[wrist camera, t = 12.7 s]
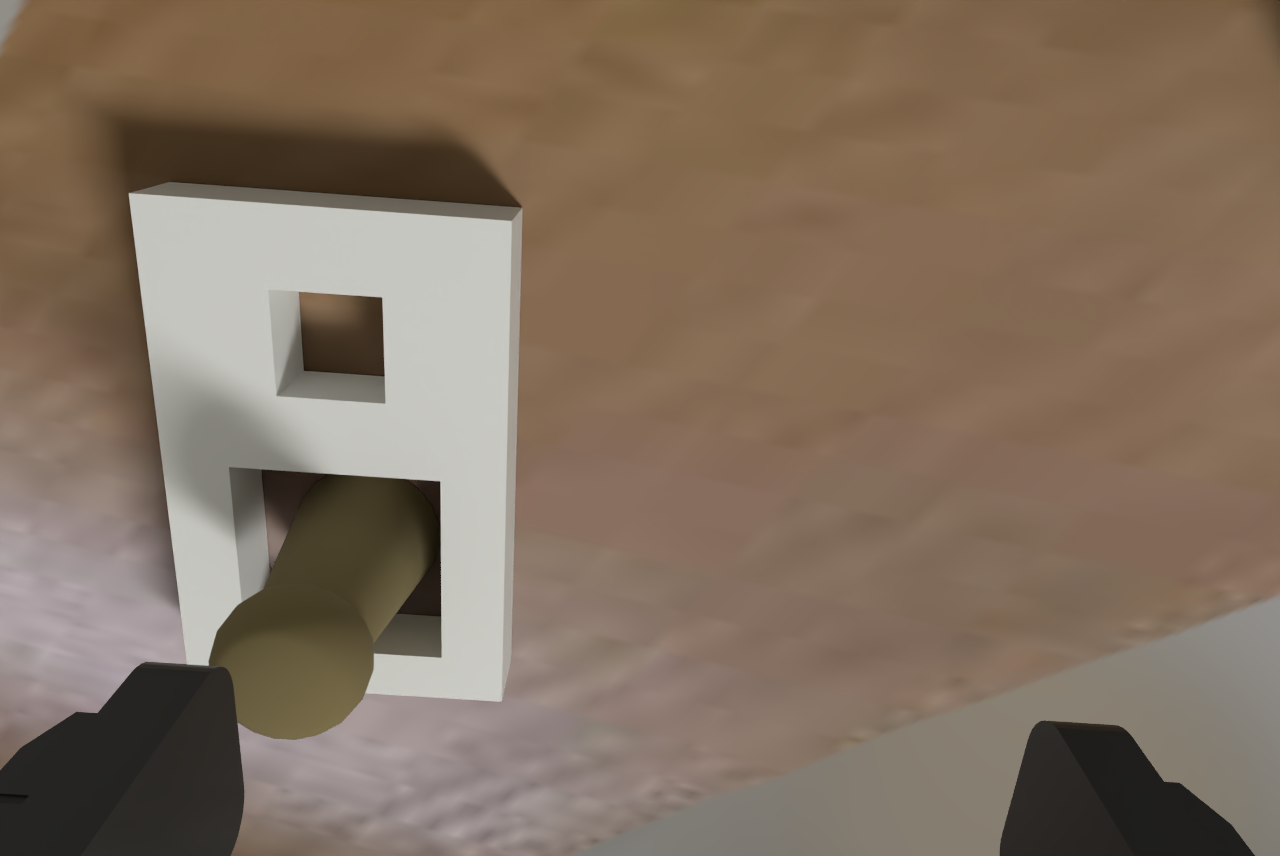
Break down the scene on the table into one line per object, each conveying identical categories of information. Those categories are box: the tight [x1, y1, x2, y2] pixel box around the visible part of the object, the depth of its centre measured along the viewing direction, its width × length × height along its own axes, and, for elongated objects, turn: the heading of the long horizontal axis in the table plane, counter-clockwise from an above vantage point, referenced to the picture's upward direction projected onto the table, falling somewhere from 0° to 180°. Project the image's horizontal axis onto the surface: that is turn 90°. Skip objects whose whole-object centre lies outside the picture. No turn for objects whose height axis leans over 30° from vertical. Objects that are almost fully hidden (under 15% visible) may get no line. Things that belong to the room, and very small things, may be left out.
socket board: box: [129, 182, 523, 702], centre depth 37 cm, size 13×20×3 cm, turn 176°
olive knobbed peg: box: [208, 474, 440, 740], centre depth 35 cm, size 6×6×11 cm
